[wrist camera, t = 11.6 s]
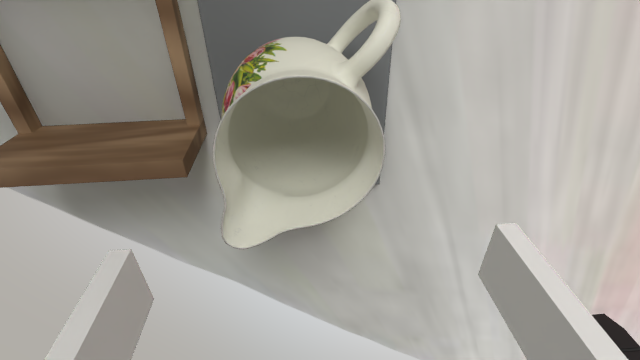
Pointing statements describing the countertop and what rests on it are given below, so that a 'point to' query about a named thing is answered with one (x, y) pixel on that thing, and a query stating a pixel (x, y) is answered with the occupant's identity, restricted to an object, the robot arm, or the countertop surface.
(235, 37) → the rubber mat
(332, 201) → the pitcher
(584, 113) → the countertop surface
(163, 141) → the walnut cradle
